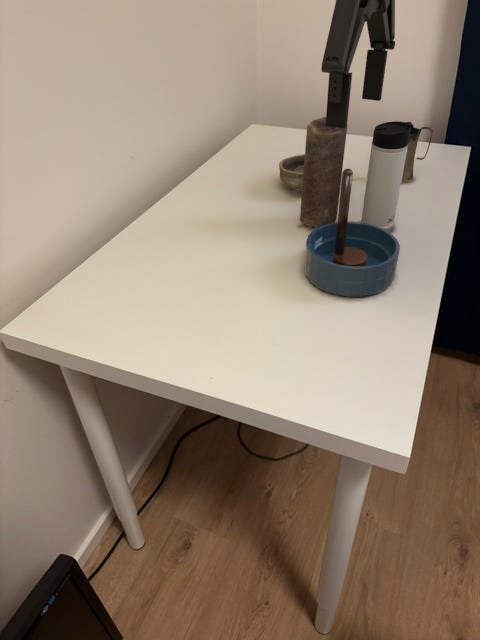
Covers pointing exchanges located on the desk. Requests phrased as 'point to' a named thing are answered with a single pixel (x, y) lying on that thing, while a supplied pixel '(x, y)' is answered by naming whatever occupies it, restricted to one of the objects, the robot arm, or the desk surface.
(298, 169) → the bowl
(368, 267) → the mixing bowl
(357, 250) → the ladle
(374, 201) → the travel mug
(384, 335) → the desk surface
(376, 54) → the robot arm
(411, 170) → the mug
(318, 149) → the brown cylinder
